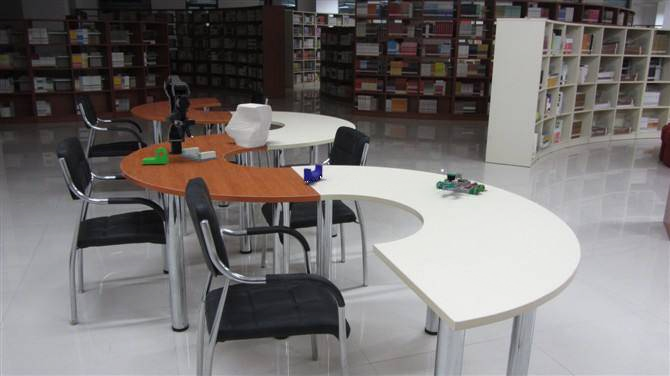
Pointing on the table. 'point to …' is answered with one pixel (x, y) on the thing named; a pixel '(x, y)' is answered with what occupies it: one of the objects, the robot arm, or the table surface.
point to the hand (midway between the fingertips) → (182, 137)
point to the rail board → (198, 154)
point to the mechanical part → (157, 158)
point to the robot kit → (460, 184)
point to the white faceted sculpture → (250, 125)
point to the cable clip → (313, 173)
